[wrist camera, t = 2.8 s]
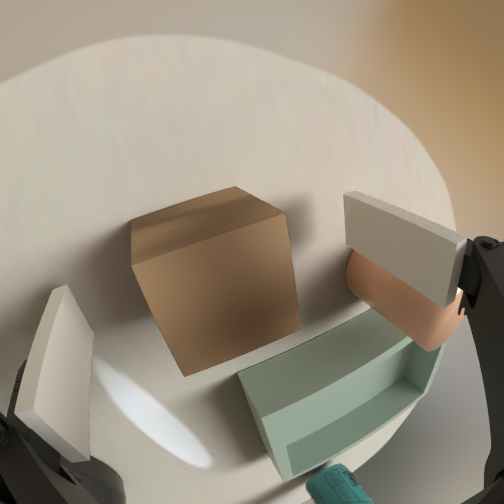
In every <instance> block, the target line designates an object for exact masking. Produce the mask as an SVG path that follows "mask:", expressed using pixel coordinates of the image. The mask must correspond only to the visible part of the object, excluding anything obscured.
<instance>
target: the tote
mask: <svg viewBox="0 0 504 504" xmlns="http://www.w3.org/2000/svg"><path fill="white" fill-rule="evenodd" d="M447 341H448V340H447ZM447 341H446V342H445V343H443V344H442V345H441V346H440V347H439V348H437V349H435V350H433V351H429V352H428V351H426V350H424V349H423V348H422V347H421V346H420V345H418V344H417V343H416V342H415V341H413V340H412V339H411V338H410V337H408V336H407V335H406V334H405V333H403V332H402V331H401V330H400V329H398V328H397V327H396V326H395V325H393V324H392V323H391V322H389V321H388V320H387V319H386V318H384V317H383V316H382V315H381V314H379V313H378V312H377V311H375V310H374V309H373V308H371V309H370V310H368V311H366V312H364V313H362V314H361V315H359V316H357V317H355V318H353V319H351V320H349V321H348V322H346V323H344V324H342V325H340V326H338V327H336V328H334V329H332V330H330V331H328V332H326V333H324V334H322V335H320V336H318V337H316V338H314V339H312V340H310V341H308V342H306V343H304V344H302V345H299V346H297V347H295V348H293V349H291V350H289V351H287V352H284V353H282V354H280V355H278V356H275V357H273V358H271V359H269V360H266V361H264V362H262V363H259V364H257V365H255V366H252V367H250V368H247V369H245V370H242V371H240V372H238V373H237V374H238V377H239V380H240V383H241V385H242V388H243V391H244V394H245V396H246V399H247V402H248V404H249V407H250V410H251V412H252V415H253V418H254V420H255V423H256V426H257V428H258V431H259V433H260V436H261V438H262V441H263V443H264V446H265V448H266V451H267V453H268V455H269V457H270V459H271V460H272V462H273V464H274V466H275V467H276V469H277V471H278V473H279V474H280V476H281V478H282V480H283V481H284V483H285V482H287V481H289V480H292V479H294V478H296V477H298V476H300V475H302V474H304V473H306V472H308V471H310V470H312V469H314V468H316V467H318V466H320V465H322V464H324V463H326V462H327V461H329V460H331V459H333V458H335V457H336V456H338V455H340V454H342V453H343V452H345V451H347V450H348V449H350V448H352V447H353V446H355V445H357V444H358V443H360V442H361V441H363V440H365V439H366V438H368V437H369V436H371V435H372V434H374V433H375V432H377V431H378V430H380V429H381V428H383V427H384V426H385V425H387V424H388V423H390V422H391V421H392V420H394V419H395V418H397V417H398V416H399V415H401V414H402V413H403V412H405V411H406V410H407V409H408V408H410V407H411V406H412V405H414V404H415V403H416V402H417V401H419V400H420V399H421V398H422V397H423V396H425V395H426V394H427V392H428V390H429V388H430V385H431V383H432V381H433V378H434V376H435V373H436V371H437V368H438V366H439V363H440V361H441V358H442V355H443V352H444V350H445V347H446V344H447Z"/></svg>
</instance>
